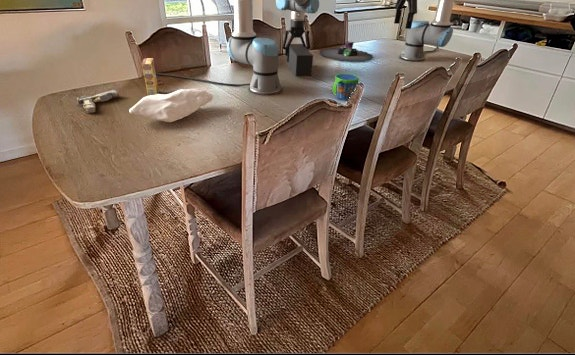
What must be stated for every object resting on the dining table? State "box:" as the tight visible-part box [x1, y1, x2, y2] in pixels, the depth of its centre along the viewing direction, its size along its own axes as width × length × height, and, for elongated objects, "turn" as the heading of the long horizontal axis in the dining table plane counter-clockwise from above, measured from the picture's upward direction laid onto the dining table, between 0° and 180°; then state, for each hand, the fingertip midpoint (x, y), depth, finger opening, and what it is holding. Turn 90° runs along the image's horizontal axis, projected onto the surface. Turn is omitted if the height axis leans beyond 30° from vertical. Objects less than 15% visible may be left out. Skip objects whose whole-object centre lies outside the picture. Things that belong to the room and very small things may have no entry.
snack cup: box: [331, 73, 359, 101], centre depth 169 cm, size 16×10×10 cm
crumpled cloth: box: [129, 88, 214, 123], centre depth 147 cm, size 24×35×9 cm
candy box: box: [141, 57, 160, 96], centre depth 163 cm, size 9×4×15 cm, turn 13°
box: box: [286, 43, 314, 77], centre depth 202 cm, size 27×9×11 cm, turn 10°
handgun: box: [76, 89, 120, 114], centre depth 155 cm, size 3×18×15 cm
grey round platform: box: [319, 40, 374, 62], centre depth 239 cm, size 35×35×9 cm
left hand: (295, 61), depth 211 cm, fingers closed on box, 9 cm apart
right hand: (402, 26), depth 186 cm, fingers open, 13 cm apart
